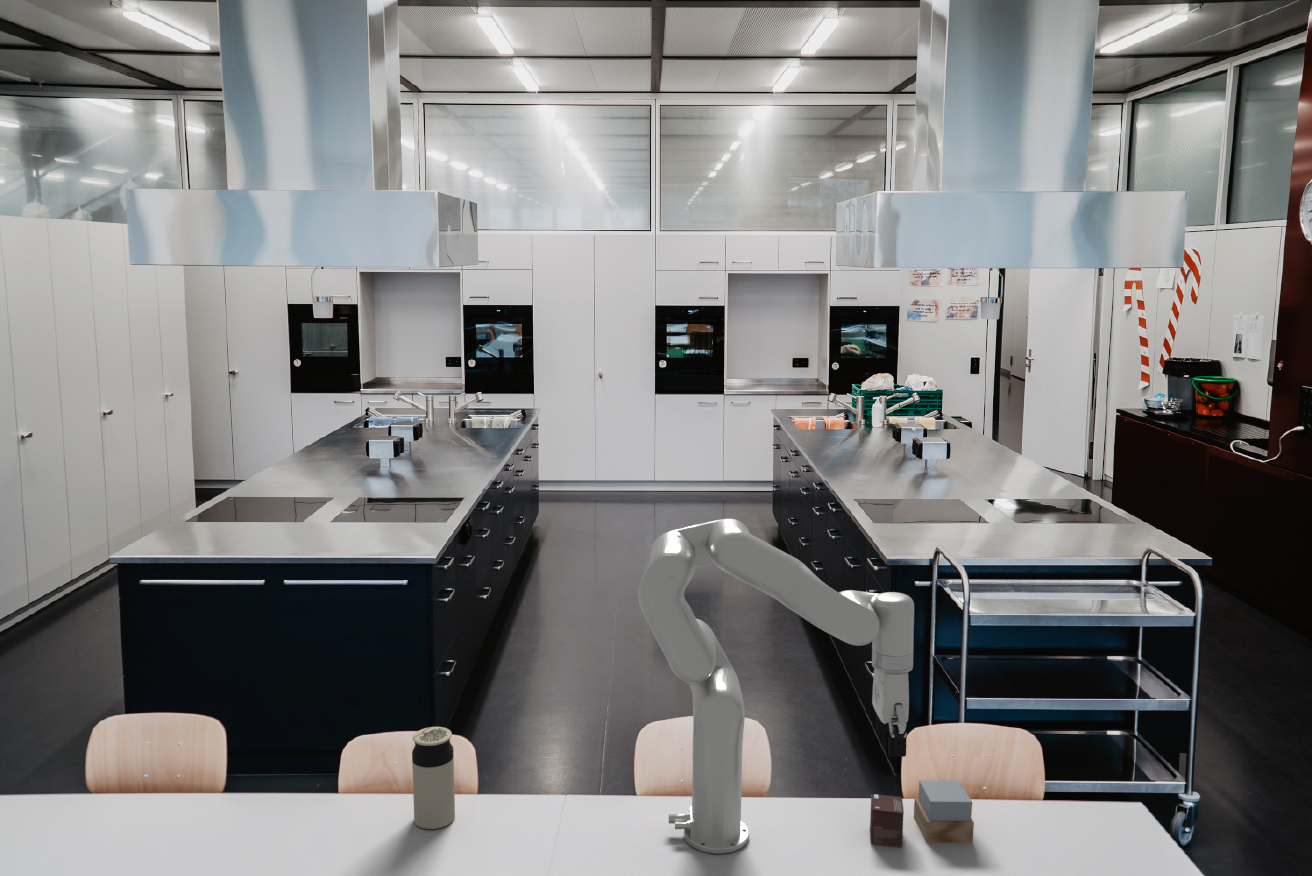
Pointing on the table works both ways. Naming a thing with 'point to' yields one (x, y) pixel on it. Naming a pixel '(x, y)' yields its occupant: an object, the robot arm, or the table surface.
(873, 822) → the box
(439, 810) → the travel mug
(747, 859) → the table surface
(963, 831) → the tower base
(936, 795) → the tower top
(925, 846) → the table surface
